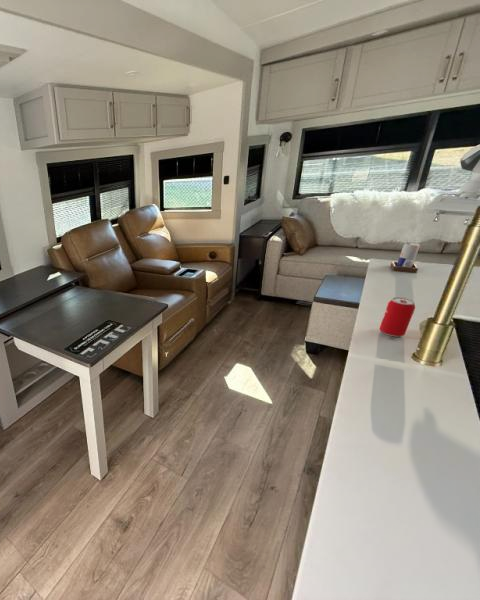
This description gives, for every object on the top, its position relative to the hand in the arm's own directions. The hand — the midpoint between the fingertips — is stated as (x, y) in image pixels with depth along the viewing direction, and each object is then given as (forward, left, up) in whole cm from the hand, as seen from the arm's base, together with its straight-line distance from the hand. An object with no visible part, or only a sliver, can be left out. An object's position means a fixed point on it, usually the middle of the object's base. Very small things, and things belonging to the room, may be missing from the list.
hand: (449, 222), depth 130 cm
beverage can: (+18, +63, -25) cm, 70 cm away
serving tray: (+6, -12, -25) cm, 29 cm away
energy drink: (+6, -12, -25) cm, 28 cm away
